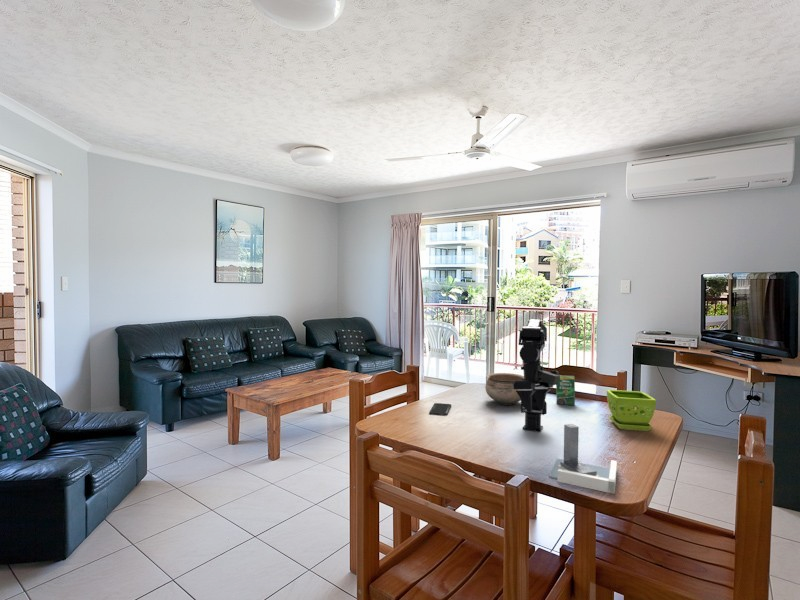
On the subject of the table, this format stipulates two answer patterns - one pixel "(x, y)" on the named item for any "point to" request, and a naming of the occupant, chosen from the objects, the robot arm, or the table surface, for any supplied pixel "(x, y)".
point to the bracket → (573, 452)
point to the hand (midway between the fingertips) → (535, 410)
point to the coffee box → (565, 390)
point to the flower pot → (631, 409)
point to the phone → (440, 409)
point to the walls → (590, 479)
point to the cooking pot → (503, 387)
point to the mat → (600, 470)
